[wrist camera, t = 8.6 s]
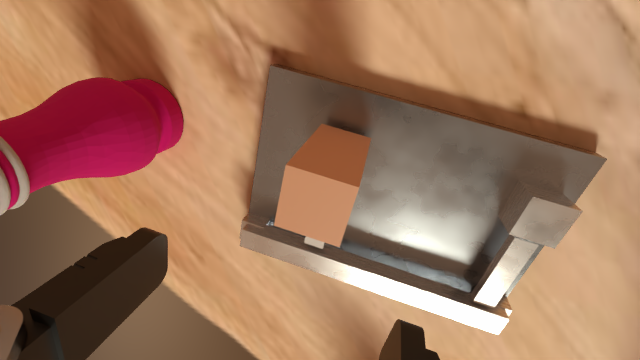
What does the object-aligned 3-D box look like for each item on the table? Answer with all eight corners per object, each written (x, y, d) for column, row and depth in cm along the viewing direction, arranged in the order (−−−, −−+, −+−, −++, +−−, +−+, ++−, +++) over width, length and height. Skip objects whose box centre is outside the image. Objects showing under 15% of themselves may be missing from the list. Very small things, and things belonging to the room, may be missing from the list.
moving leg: (372, 135, 22) (359, 187, 14) (337, 241, 26) (313, 325, 18) (323, 121, 22) (285, 164, 14) (298, 228, 26) (258, 305, 19)
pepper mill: (112, 130, 29) (-352, 278, 11) (121, 56, 25) (-527, 92, 7) (179, 167, 29) (-172, 374, 11) (198, 97, 25) (-267, 232, 8)
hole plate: (596, 152, 20) (633, 173, 17) (484, 311, 28) (496, 347, 24) (276, 64, 23) (256, 67, 20) (250, 232, 30) (233, 255, 27)
